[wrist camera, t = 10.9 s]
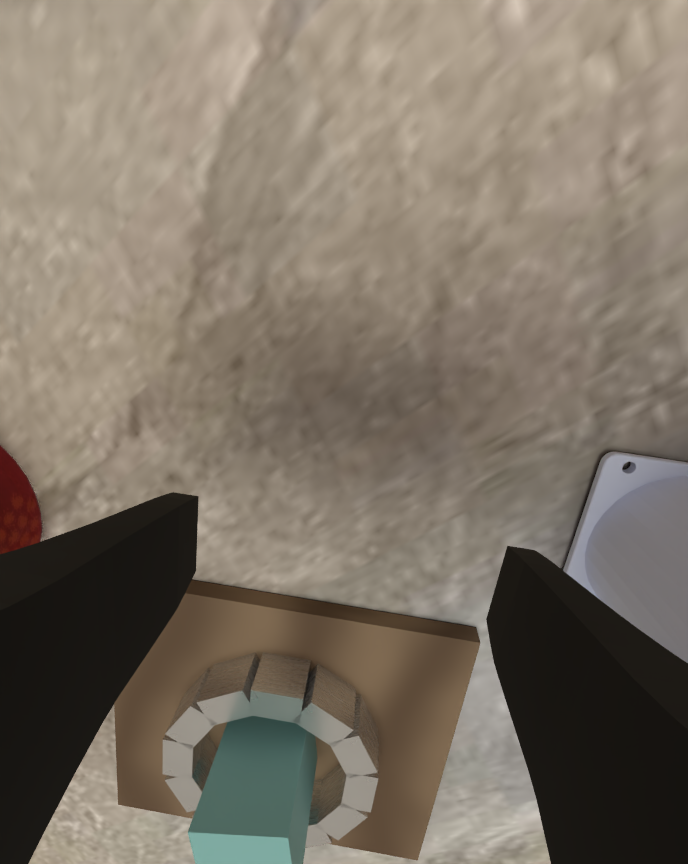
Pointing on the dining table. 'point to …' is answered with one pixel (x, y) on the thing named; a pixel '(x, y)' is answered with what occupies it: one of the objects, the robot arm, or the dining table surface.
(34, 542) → the canned food
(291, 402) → the dining table surface
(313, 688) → the steel collar
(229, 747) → the teal peg
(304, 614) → the walnut board
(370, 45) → the dining table surface
